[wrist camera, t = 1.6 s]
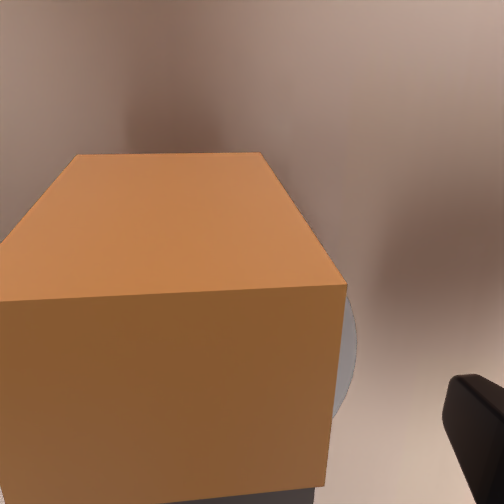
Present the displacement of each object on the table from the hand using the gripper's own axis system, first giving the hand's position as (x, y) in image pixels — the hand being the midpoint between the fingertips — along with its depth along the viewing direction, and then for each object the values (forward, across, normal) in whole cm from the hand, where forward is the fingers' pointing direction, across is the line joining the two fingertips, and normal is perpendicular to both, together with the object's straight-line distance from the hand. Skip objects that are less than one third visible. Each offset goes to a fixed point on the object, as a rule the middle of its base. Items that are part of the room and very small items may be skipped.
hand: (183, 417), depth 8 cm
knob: (+2, 0, 0) cm, 2 cm away
